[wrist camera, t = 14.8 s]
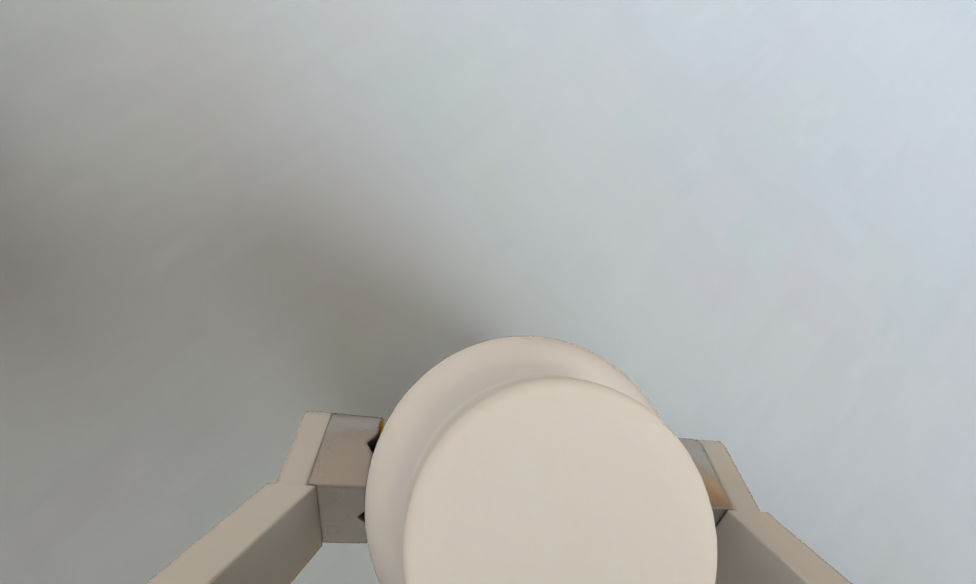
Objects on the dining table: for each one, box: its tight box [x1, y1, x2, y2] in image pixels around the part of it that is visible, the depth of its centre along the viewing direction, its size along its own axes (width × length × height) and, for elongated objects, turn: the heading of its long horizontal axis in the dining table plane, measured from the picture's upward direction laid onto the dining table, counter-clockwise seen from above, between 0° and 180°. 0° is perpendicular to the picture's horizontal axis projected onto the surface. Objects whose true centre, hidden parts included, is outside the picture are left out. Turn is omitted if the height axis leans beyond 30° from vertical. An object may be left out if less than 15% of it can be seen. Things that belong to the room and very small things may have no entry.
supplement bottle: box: [365, 336, 717, 584], centre depth 11 cm, size 6×6×10 cm
